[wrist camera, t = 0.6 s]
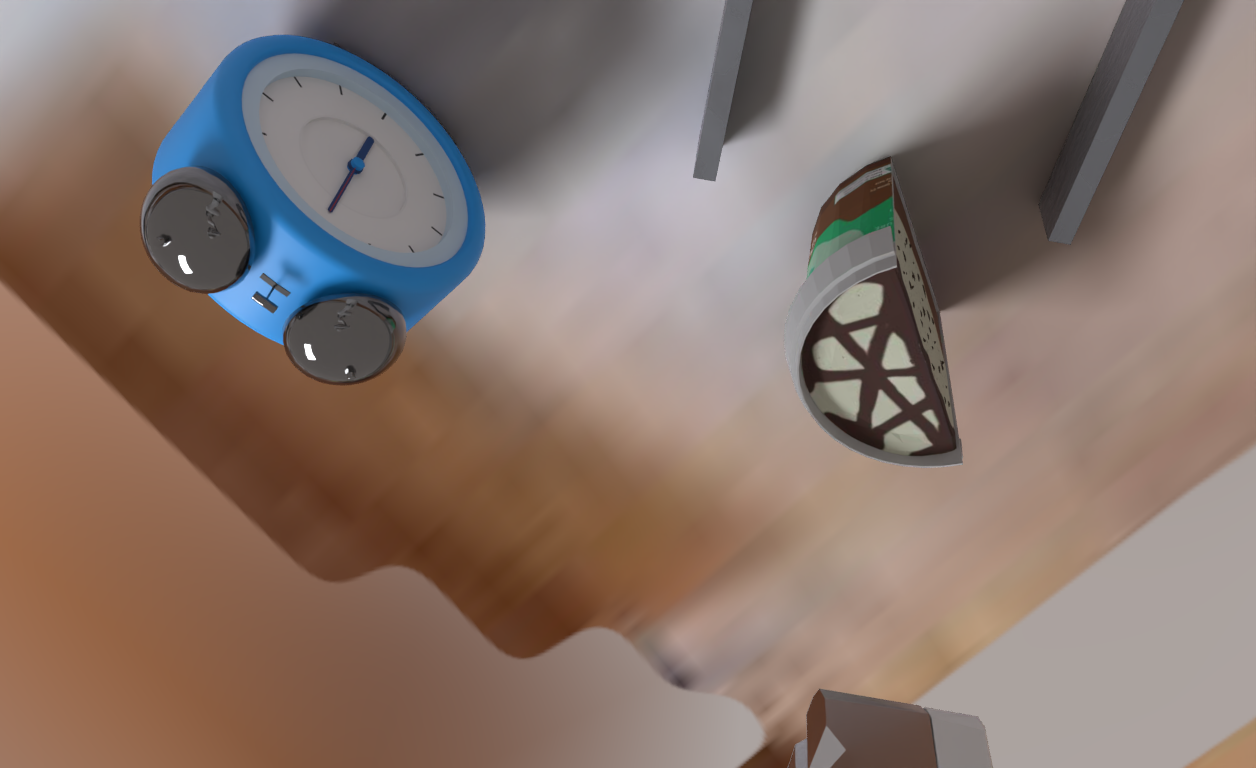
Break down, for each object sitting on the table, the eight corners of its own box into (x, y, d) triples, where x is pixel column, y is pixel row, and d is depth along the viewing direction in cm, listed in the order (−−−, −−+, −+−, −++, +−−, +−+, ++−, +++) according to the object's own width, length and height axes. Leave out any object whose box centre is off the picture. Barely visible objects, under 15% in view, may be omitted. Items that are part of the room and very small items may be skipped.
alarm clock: (516, 173, 56) (441, 372, 45) (440, 245, 60) (353, 447, 48) (289, -18, 51) (141, 153, 40) (220, 72, 55) (66, 253, 43)
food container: (752, 168, 54) (742, 294, 47) (882, 128, 52) (892, 254, 45) (829, 361, 61) (831, 499, 54) (946, 334, 59) (965, 472, 52)
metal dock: (770, -232, 43) (768, -211, 41) (1220, -153, 43) (1242, -127, 41) (698, 144, 54) (693, 177, 52) (1059, 208, 54) (1070, 244, 52)
